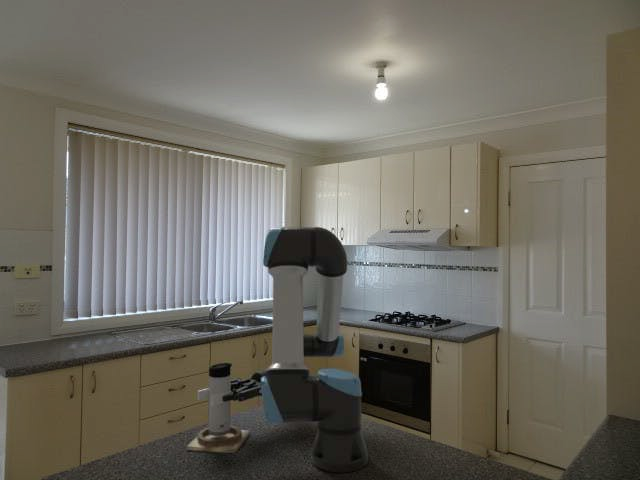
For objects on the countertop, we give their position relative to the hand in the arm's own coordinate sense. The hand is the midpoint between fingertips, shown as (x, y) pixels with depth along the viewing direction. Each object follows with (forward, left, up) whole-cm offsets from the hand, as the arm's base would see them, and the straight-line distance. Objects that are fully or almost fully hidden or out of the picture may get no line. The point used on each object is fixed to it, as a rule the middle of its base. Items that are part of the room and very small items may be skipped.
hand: (205, 398), depth 135 cm
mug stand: (-3, -4, -14) cm, 15 cm away
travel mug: (-3, -4, -11) cm, 12 cm away
